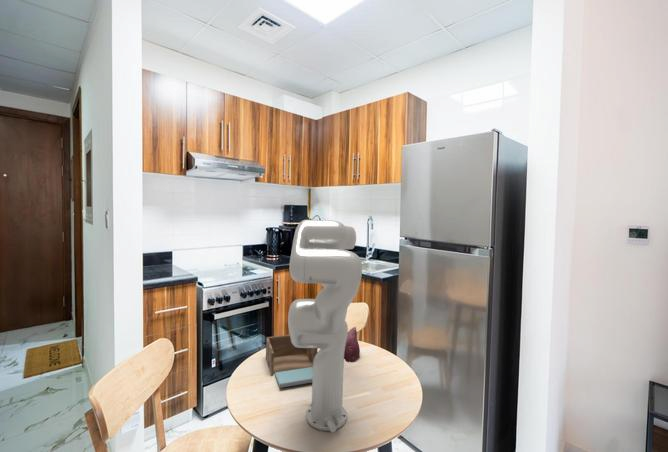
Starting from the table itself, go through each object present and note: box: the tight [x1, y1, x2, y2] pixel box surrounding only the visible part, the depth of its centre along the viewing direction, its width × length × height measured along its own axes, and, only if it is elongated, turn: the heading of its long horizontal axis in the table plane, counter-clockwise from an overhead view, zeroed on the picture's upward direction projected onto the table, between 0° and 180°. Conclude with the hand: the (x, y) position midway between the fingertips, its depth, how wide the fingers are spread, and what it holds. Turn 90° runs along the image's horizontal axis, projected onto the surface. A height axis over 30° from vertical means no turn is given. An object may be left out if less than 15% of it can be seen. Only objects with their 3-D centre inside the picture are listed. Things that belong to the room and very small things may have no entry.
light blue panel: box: [274, 367, 313, 388], centre depth 113 cm, size 1×15×11 cm
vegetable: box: [344, 326, 361, 363], centre depth 135 cm, size 10×10×15 cm
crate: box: [265, 334, 319, 377], centre depth 125 cm, size 15×18×10 cm
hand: (328, 305), depth 118 cm, fingers closed
